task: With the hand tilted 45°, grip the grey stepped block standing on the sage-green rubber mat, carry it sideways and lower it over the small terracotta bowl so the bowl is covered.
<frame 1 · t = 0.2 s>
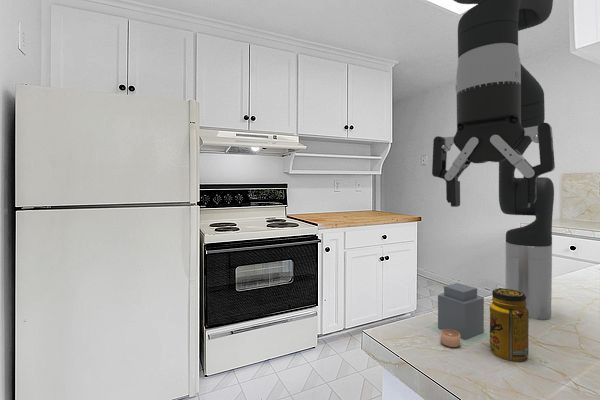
hand: (488, 206, 44), 29 cm above the countertop, tool pointing down, fingers open, 8 cm apart
condiment: (513, 356, 60), on the countertop
mat: (460, 331, 69), on the countertop
grey stepped block: (460, 330, 69), resting on mat
bowl: (450, 345, 64), on the countertop
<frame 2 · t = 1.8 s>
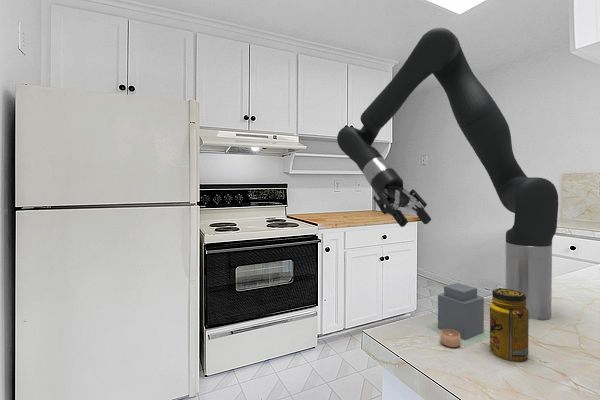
hand: (417, 223, 78), 23 cm above the countertop, tool tilted 45°, fingers open, 8 cm apart
nothing on the countertop moved.
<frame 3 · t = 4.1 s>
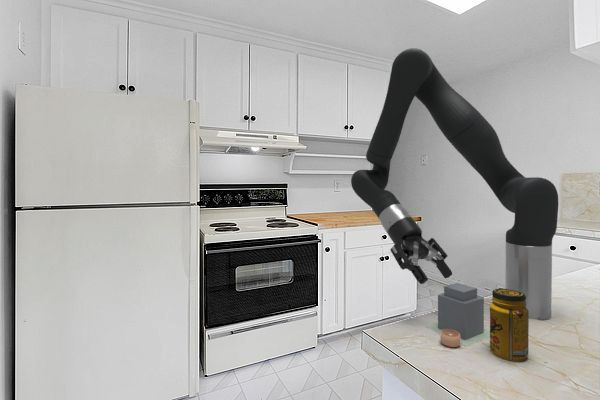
hand: (437, 279, 74), 10 cm above the countertop, tool tilted 45°, fingers open, 8 cm apart
nothing on the countertop moved.
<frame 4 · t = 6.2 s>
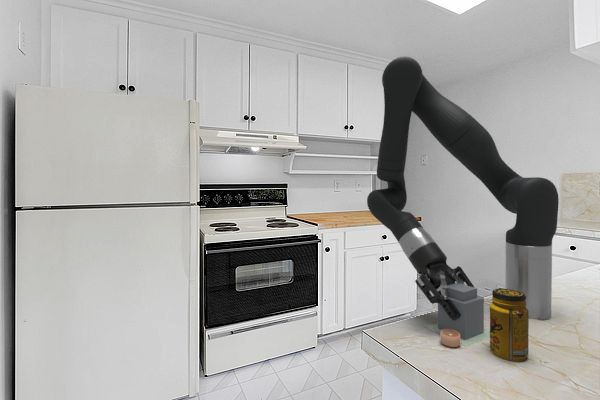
hand: (467, 314, 68), 4 cm above the countertop, tool tilted 45°, fingers closed on grey stepped block, 6 cm apart
grey stepped block: (460, 330, 69), resting on mat, touching gripper
everything else where it was.
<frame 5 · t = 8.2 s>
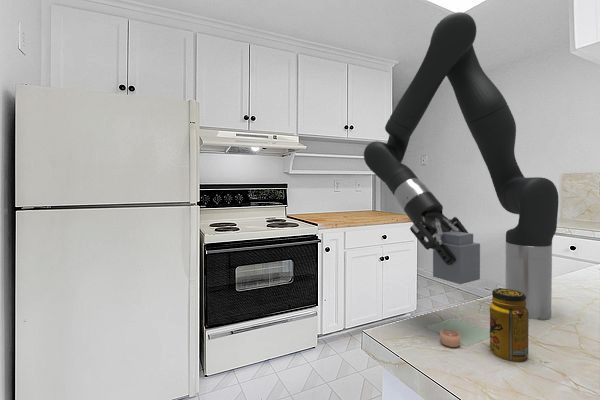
hand: (463, 260, 66), 16 cm above the countertop, tool tilted 45°, fingers closed on grey stepped block, 6 cm apart
grey stepped block: (456, 277, 68), point 12 cm above the countertop, touching gripper
everything else where it was.
when the fingers open (5 cm above the countertop, at t = 10.5 s): grey stepped block drops 1 cm, resting on mat.
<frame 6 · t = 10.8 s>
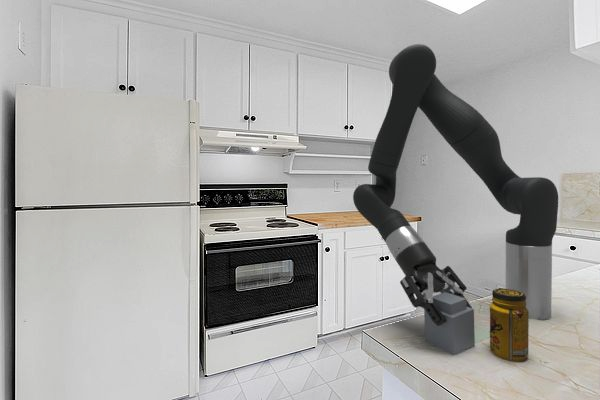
hand: (456, 318, 62), 6 cm above the countertop, tool tilted 45°, fingers open, 8 cm apart
grey stepped block: (449, 344, 64), resting on mat
everything else where it was.
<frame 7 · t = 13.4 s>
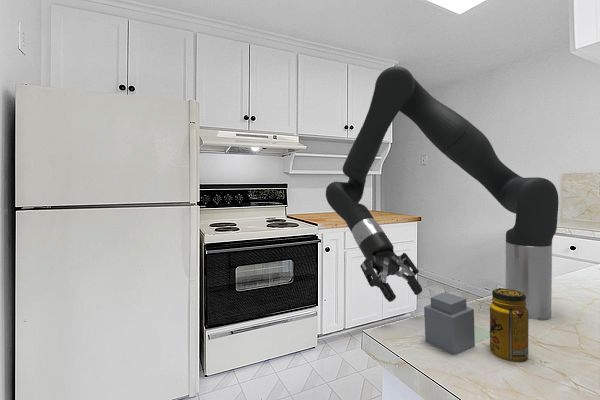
hand: (406, 296, 73), 7 cm above the countertop, tool tilted 45°, fingers open, 8 cm apart
nothing on the countertop moved.
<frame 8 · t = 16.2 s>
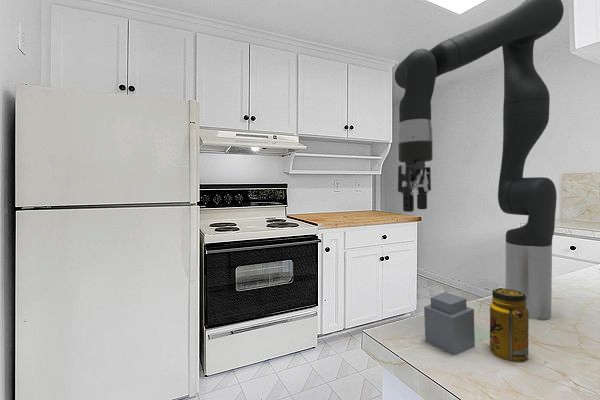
hand: (415, 210, 75), 26 cm above the countertop, tool pointing down, fingers open, 8 cm apart
nothing on the countertop moved.
at the end: grey stepped block 0.1 cm from the bowl (horizontally); grey stepped block on the countertop; grey stepped block tilted 3° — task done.
